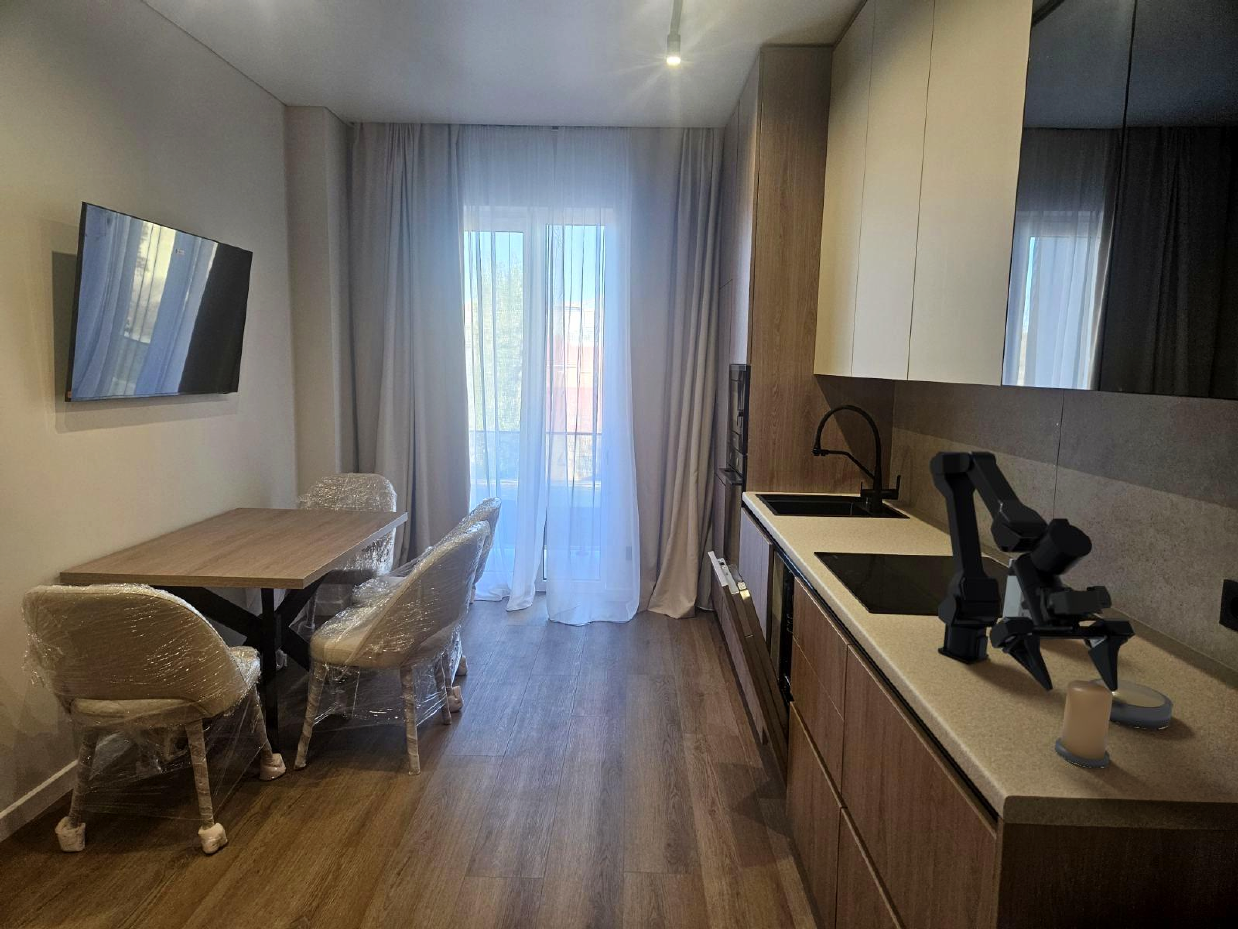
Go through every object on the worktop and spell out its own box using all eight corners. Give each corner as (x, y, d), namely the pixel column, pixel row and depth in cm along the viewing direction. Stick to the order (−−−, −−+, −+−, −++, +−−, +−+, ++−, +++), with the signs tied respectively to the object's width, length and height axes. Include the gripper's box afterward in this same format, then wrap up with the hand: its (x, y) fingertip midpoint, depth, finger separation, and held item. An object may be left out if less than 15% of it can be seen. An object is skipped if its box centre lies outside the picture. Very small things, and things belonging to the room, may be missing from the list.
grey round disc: (1071, 705, 115) (1074, 685, 114) (1105, 689, 121) (1108, 671, 120) (1150, 737, 106) (1153, 716, 105) (1182, 718, 111) (1186, 698, 111)
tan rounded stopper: (1045, 751, 101) (1053, 684, 100) (1069, 739, 105) (1077, 674, 103) (1094, 774, 96) (1103, 704, 94) (1117, 760, 99) (1127, 693, 98)
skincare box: (1015, 638, 142) (1023, 566, 140) (999, 627, 148) (1007, 557, 146) (1057, 639, 142) (1066, 567, 140) (1040, 628, 148) (1048, 558, 145)
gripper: (1007, 563, 103) (1046, 669, 93) (1134, 565, 103) (1186, 670, 94) (974, 597, 112) (1006, 697, 102) (1091, 599, 112) (1133, 698, 103)
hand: (1082, 690), depth 100 cm, fingers open, 9 cm apart
